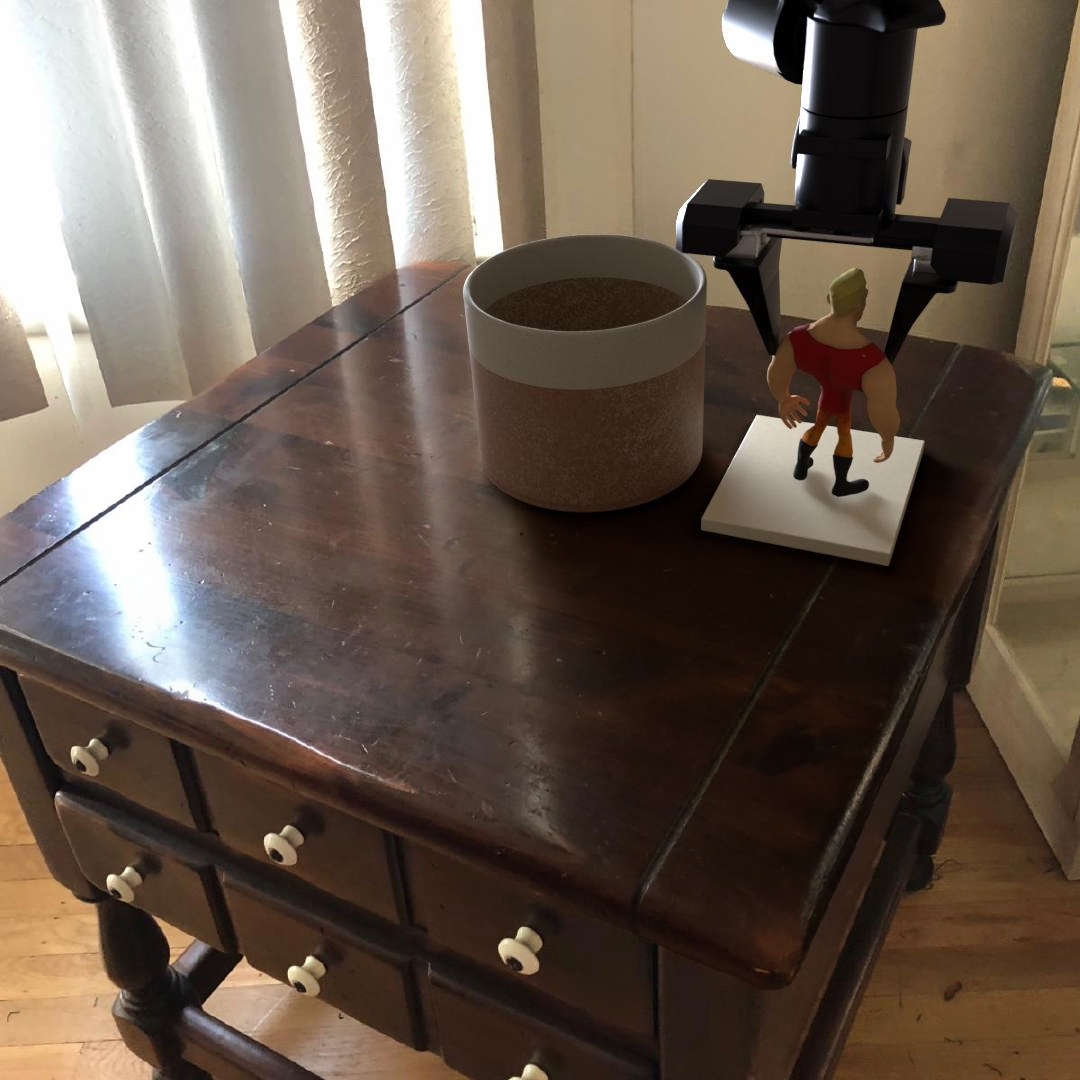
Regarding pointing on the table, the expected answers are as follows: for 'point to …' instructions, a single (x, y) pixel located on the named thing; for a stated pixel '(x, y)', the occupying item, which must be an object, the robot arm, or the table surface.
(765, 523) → the display board
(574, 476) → the planter
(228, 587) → the table surface
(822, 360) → the action figure
